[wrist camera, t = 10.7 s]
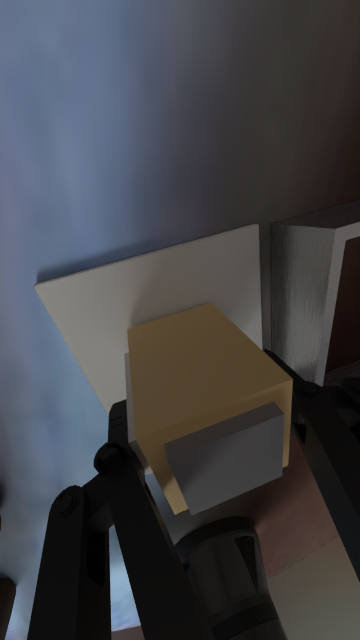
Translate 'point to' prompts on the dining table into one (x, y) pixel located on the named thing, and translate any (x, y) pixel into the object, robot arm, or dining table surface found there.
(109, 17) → the dining table surface
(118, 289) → the pad
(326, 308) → the case
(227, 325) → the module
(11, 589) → the beer bottle
